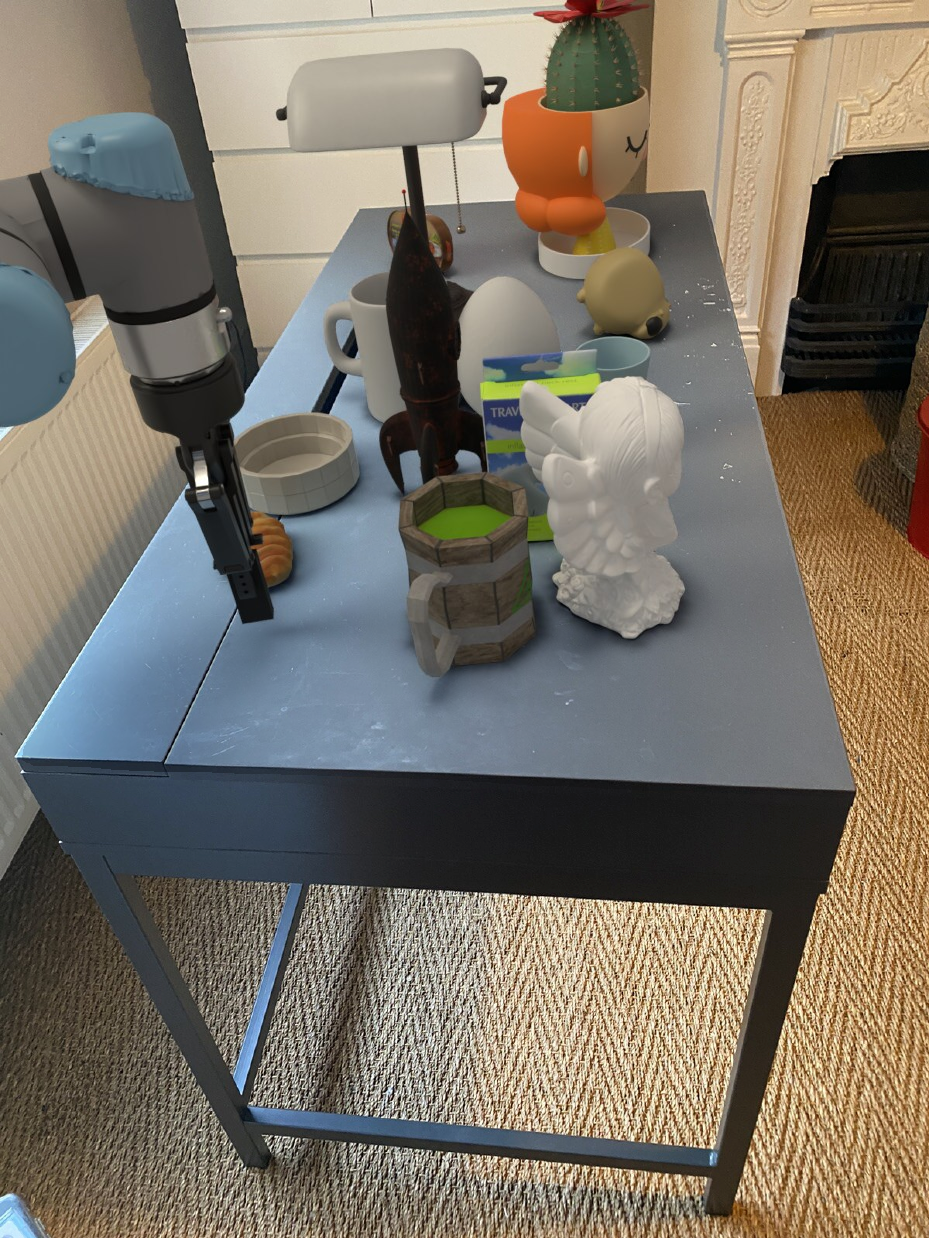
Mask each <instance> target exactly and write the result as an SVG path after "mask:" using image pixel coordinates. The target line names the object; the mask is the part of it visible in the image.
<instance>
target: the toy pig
mask: <svg viewBox="0 0 929 1238" xmlns="http://www.w3.org/2000/svg"><path fill="white" fill-rule="evenodd" d="M583 280H584V281H583V284H582V285H583V286H582V288H581V289H580V290H579V291H578V292H577V294H576V297H575V298H576V301H577V302H578V303H580V304H584V306H585V308H586V311H587V313H588V315H589V316H590V318H591V319H592V322H593V323H594V325H593V329H592V330H593V333H594V334H595V335H597V336H601V335H604V334H605V333H608V334H613V335H625V334H628V335H629V336H632V337H634V338H635V339H641V340H648V339H651V338H654V337H655V336H657V335H659V334H660V332H662V330H664V329H665V327H666V326H667V324H668V322H669V320H670V316H671V309H670V308H671V307H672V303H671V302H669V300H668V299H667V297H666V294H665V286H664V281H663V278H662V276H661V274H660V271H659V270H658V268H657V266H656V265H655V263H654V261H653V260H652V259H651V258H650V257H649V255H648V256H647V255H646V254H645V253H644V252H642V251H641V250H639V249H636V248H632V247H621V248H617V249H614V250H611V251H609V252H607V253H605V254H604V255H602V256H601V257H599V258H598V259H597V260H596V261H595V262H594V263H593V264H592V266H591V267H590V268H589V270H588V272H587V274H586V277H585V279H583Z"/></svg>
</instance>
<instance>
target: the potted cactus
mask: <svg viewBox="0 0 929 1238" xmlns="http://www.w3.org/2000/svg"><path fill="white" fill-rule="evenodd" d="M636 1H637V0H621V1H617V0H566V1H565V3H564V8H565V9H566V10H539V11H535V12H533V13H532V15H533V16H535V17H539V18H543V20H545V21H548V22H550V23H552V24H554V25H555V24H556V25H557V24H558V25H557V27H558V29H559V30H557V33H558V34H559V35H558V34H557V33H556V30H554V34H553V36H551V38H552V39H554V38H555V39H554V43H553V46H551V45H549V47H548V46H547V47H546V46H545V47H546V48H547V49H548V50H547V51H548V52H550V54H548V53H545V56H544V59H545V61H546V62H547V65H546V66H545V65H541V69H540V71H541V72H543V76H546V77H545V78H544V77H542V79H541V80H539V81H540V82H539V83H540V84H542V85H543V87H540V88H536V89H532V90H528V91H524V92H521V93H518V94H515V95H513V96H510V97H509V98H508V99H506V100H505V101H504V103H503V110H502V116H501V117H502V118H501V142H502V147H503V155H504V159H505V162H506V166H507V168H508V170H509V172H510V174H511V175H512V178H513V179H514V182H515V183H516V185H517V187H518V190H517V191H516V193H515V197H514V205H515V210H516V214H517V216H518V218H519V219H520V221H521V222H522V223H523V224H524V225H525V226H527V228H529V229H530V230H532V231H536V232H538V235H537V244H538V261H539V264H540V266H541V268H543V270H545V271H546V272H548V273H550V274H552V275H555V276H557V277H560V278H566V279H572V280H585V277H586V274H587V272H588V270H589V268H590V267H591V266H592V264H593V263H594V262H595V261H596V260H597V259H598V258H599V257H601V256H602V255H604V254H605V253H607V252H609V251H611V250H614V249H617V248H621V247H632V248H636V249H639V250H641V251H642V252H644V253H645V254H646V255H647V256H648V257H649V254H650V249H651V224H650V220H648V218H647V217H646V216H645V215H643V214H641V213H639V212H637V211H634V210H631V209H626V208H621V207H609V206H608V207H606V204H605V203H606V202H608V201H609V200H611V199H613V198H615V197H616V196H618V195H619V194H620V193H621V192H623V190H624V189H625V188H626V187H627V186H628V185H629V184H630V182H632V180H634V178H635V174H636V172H637V171H638V169H639V167H640V165H641V162H643V161H645V159H646V158H647V155H648V150H649V149H648V139H649V133H650V132H649V131H650V126H651V123H650V118H651V117H650V99H649V92H648V89H646V87H645V86H646V84H643V85H641V84H642V81H643V79H642V77H640V78H639V76H643V75H646V73H644V71H645V72H646V70H645V69H644V70H642V69H640V68H641V66H642V65H643V63H641V62H642V59H641V58H640V56H641V55H640V54H641V53H638V51H639V50H641V48H639V49H638V48H637V50H635V49H636V47H637V44H634V45H633V46H632V43H633V42H634V41H637V39H634V35H632V34H633V32H630V31H631V30H632V29H631V28H629V27H630V25H628V24H625V25H624V26H623V27H622V26H621V25H622V24H623V23H624V22H625V20H626V19H625V20H624V19H623V17H621V16H622V15H625V14H628V13H632V12H636V11H640V10H642V9H644V10H645V9H648V8H650V7H651V6H652V5H651V4H649V3H647V4H646V3H643V4H634V5H633V4H632V3H633V2H636ZM616 18H618V19H617V20H616ZM563 24H564V25H563ZM629 32H630V34H629V35H628V36H627V33H629ZM634 50H635V51H634ZM636 54H638V55H637V56H636ZM638 58H639V59H638ZM638 65H640V66H638ZM639 83H640V84H639Z"/></svg>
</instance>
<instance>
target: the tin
mask: <svg viewBox="0 0 929 1238" xmlns="http://www.w3.org/2000/svg"><path fill="white" fill-rule="evenodd" d="M407 211H408V213H409V215H410V216H411V211H410V207H407ZM405 212H406V210H405V208H402V209H395V210H393V211H391V213H390V214H389V216H388V218H387V222H386V223H387V224H386V234H387V240H388V245H389V247H390V251H391V253H392V255H393V254H394V250H395V246H396V243H397V239H398V236H399V233H400V229H401V226H402V222H403V219H404V215H405ZM425 213H426V222H427V230H428V238H429V246H430V250H431V251H432V253H433V255H434V257H435V259H436V261H437V263H438V265H439V267H440V269H441V271H442V273H444V272H445V273H446V272H447V271H448V270H449V269H450V268H451V267H452V266H453V262H454V244H453V236H452V233H451V231H450V229H449V226H448V224H446V222H445V221H444V220H443V219H442V218H441V217H439V216H437V215H433V214H430V213H427V212H425Z"/></svg>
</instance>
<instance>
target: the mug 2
mask: <svg viewBox="0 0 929 1238" xmlns="http://www.w3.org/2000/svg"><path fill="white" fill-rule="evenodd" d="M397 527H398V533H399V536H400V539H401V542H402V545H403V548H404V553H405V557H406V564H407V572H408V574H407V575H408V587H409V588H408V593H407V595H406V618H407V622H408V625H409V628H410V632H411V635H412V639H413V640H412V641H413V646H414V651H415V656H416V659H417V663H418V666H419V668H420V670H421V671H422V673H424V674H425V675H426V676H428V677H430V678H441V677H442V676H443V675H445V674H446V673H447V672H448V671H449V670H450V668H451V666H464V665H467V666H468V665H476V664H477V665H479V664H488V663H500V662H505V661H506V660H508V659H509V658H510V657H511V656H512V655H513V654H515V653H516V652H517V651H518V650H520V649H521V648H522V647H523V646H524V645H526V644H527V643H528V642H529V641H531V640H532V639H533V638H534V637H536V636H537V627H536V618H535V617H536V616H535V609H534V601H533V597H532V595H533V573H532V565H531V555H530V549H529V541H527V531H528V509H527V501H526V493H525V488H524V487H522V486H520V485H517V484H515V483H512V482H510V481H508V480H505V479H503V478H501V477H498V476H496V475H493V474H491V473H489V472H482V471H479V472H468V473H458V474H451V475H448V476H438V477H435V478H434V479H432V480H430V481H429V482H427V483H426V484H424V485H423V484H422V485H421V486H420V487H418V488H416V489H414V490H413V491H412V492H409V493H408V494H407V495H404V496H403V497H402V498H400V499H399V513H398V525H397Z"/></svg>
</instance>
